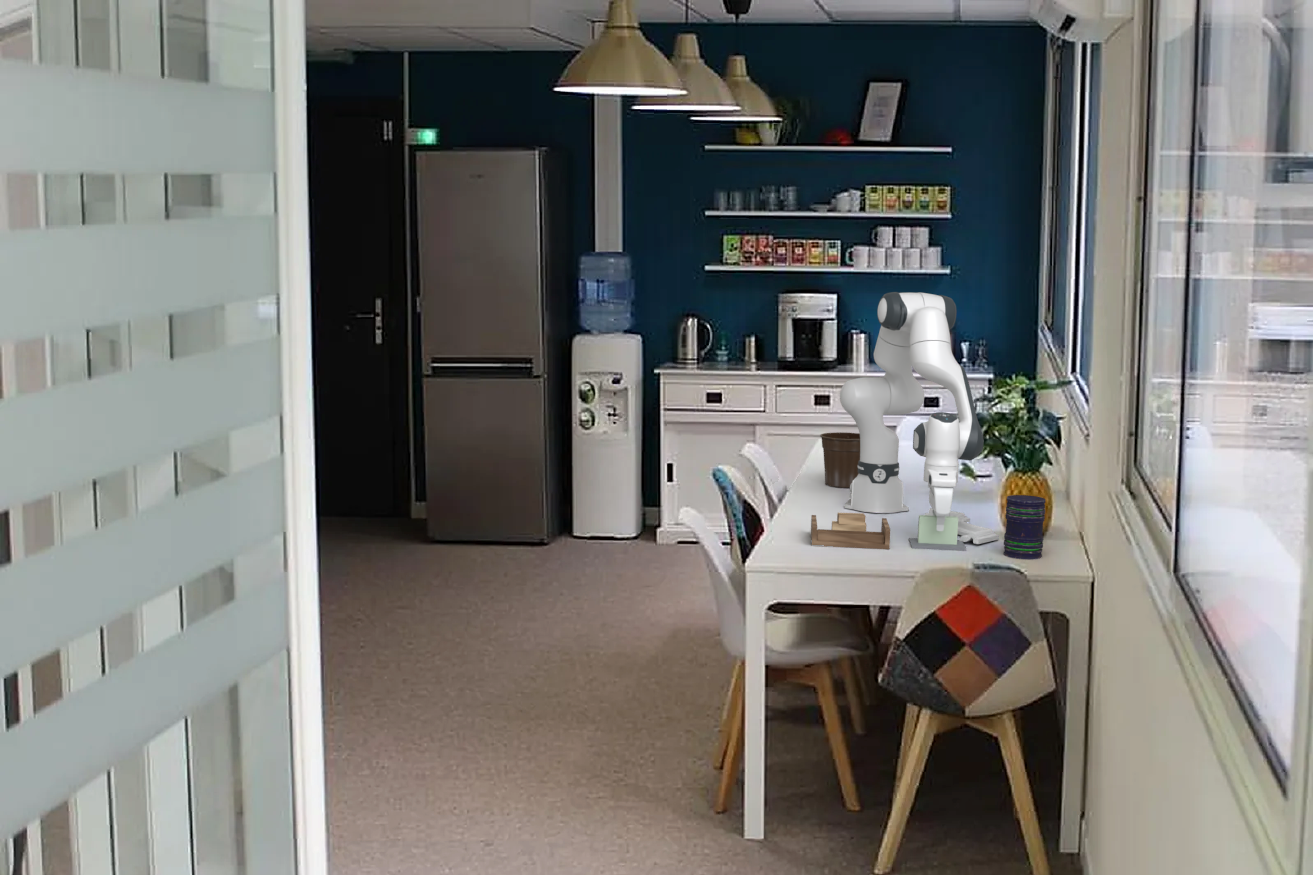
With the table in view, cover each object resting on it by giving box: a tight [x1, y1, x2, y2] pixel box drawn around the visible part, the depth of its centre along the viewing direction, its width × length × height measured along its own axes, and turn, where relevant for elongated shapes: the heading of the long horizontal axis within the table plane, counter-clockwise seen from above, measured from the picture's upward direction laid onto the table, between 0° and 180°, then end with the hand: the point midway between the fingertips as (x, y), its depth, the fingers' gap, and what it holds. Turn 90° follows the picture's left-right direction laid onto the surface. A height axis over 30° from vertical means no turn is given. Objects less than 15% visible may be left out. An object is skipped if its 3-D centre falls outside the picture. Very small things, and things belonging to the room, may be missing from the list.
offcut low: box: [831, 520, 868, 531], centre depth 433 cm, size 4×9×3 cm, turn 86°
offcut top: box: [836, 512, 867, 525], centre depth 432 cm, size 4×7×2 cm, turn 90°
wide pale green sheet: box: [917, 514, 958, 545], centre depth 427 cm, size 2×10×7 cm, turn 86°
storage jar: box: [1003, 494, 1046, 561], centre depth 416 cm, size 10×10×15 cm
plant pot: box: [819, 431, 860, 489], centre depth 518 cm, size 16×16×16 cm
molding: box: [924, 507, 1000, 545], centre depth 448 cm, size 42×12×3 cm, turn 6°
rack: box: [810, 514, 891, 550], centre depth 428 cm, size 16×20×5 cm
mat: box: [908, 537, 967, 551], centre depth 427 cm, size 11×14×1 cm
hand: (937, 527), depth 426 cm, fingers open, 8 cm apart
